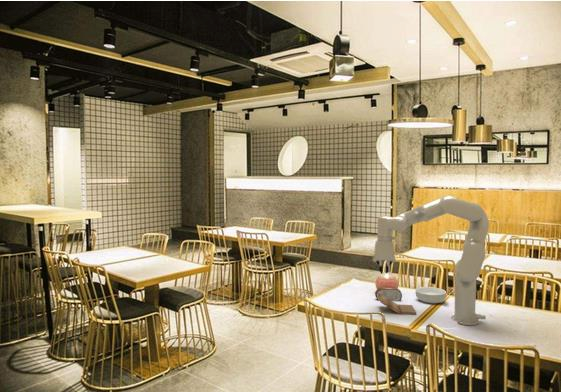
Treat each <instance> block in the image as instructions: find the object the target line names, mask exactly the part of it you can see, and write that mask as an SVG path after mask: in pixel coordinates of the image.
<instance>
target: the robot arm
mask: <svg viewBox="0 0 561 392" xmlns="http://www.w3.org/2000/svg"><path fill="white" fill-rule="evenodd" d="M446 214H448V215H452V216H455V217H457V218H460V219H463V220H467V221H469V227H468V230H467V234H466V238H465V240H464V243H463V244H462V254H461V255H462V256H461V257H460V259H459V260H458V261H457V262H456V264H455V268H454V275H455V278H454V279H455V282H454V283H455V284H454V286H455V287H454V315H451V316H450V318H451V320H452V321H454V322H456V323H458V324H459V325H463V326H477V325H478V324H479V320H486V318H487V317H486V315H482V314H480V313H476V304H477V303H476V301H477V300H476V298H477V278H479V276H480V273H481V270H482V267H483V264H484V261H485V257H486V248H485V243H486V240H487V235H488V232H489V227H490V226H489V225H490V224H489V223H490V222H489V218H488V215H487V213H486V212H485V210H484V209H483V207H482V206H481V205H479V204H478V203H476V202H470V201H467V200H464V199H461V198H458V197H455V196H453V195H451V194H450V195H449V194H448V195H444V196H442V197H439V198H437V199H434V200H432V201H429V202H426V203H423V204H422V205H420V206H417V207H416V208H413V209H411V210H409V211H406V212H403V213H401V214H398V215H396V216H395V217H394V216H391V215H379V216H378V217H377V233H376V234H377V237H376V238H377V239H376V240H375V243H374V252H373V253H374V254H373V255H374V256H373V257H372V262H374V263H376V264H377V265H378V266H379V270H378V271H379V272H380V274H382V273H384V268H383V267H384V266H383V263H382V262H383V261H386V263H385V265H386V269H385V273H386V274H388V272H389V266H391V265H392V264H394V263H396V262H397V260H396V257H395V245H394V240H396V239H395V236H393V231H396V232H402V231H405V229H407V228H408V227H410V226H412V225H415V224H418V223H422V222H428V221H433V220H434V219H436V218H439V217H442V216H444V215H446Z"/></svg>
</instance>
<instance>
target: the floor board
mask: <svg viewBox="0 0 561 392" xmlns="http://www.w3.org/2000/svg"><path fill="white" fill-rule="evenodd" d="M398 306H399V308H400V310H401V313H400V314H399V315H405V316H407V315H408V316H417V311H416V309H415V308H414V306H413V305H412V304H400V303H399V304H398Z"/></svg>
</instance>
